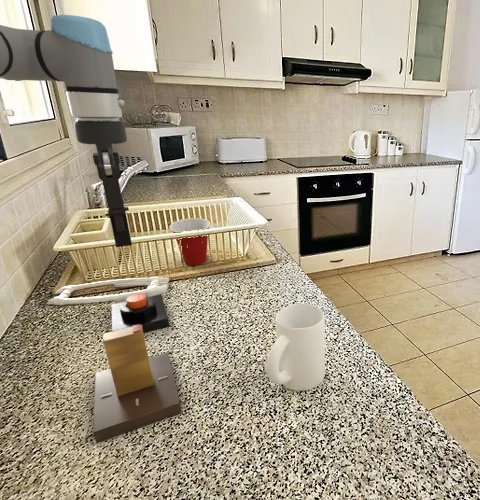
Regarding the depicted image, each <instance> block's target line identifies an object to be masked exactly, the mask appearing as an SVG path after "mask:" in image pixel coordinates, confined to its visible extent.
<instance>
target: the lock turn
mask: <svg viewBox="0 0 480 500" xmlns="http://www.w3.org/2000/svg"><path fill="white" fill-rule="evenodd" d="M102 342H103V346H104V350H105V354H106V358H107V361H108V366H109V369H110V370H111V373H112V377H113V381H114V385H115V389H116V393H117V396H121V395H124V394H127V393H131V392H134V391H137V390H140V389H143V388H146V387H150V386H153V385H154V382H153V376H152V372H151V367H150V362H149V358H150V357H149V354H148V353H149V352H148V348H147V343H146V339H145V333H143V329H142V325H140V324H138V325H134V326H133V327H130V328H125V329H121V330H117V331H113V332H112V331H109V332H104V333H103V334H102Z"/></svg>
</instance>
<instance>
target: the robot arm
mask: <svg viewBox="0 0 480 500" xmlns="http://www.w3.org/2000/svg"><path fill="white" fill-rule="evenodd" d="M50 25H51V26H50V29H48V30H45V29H43V30H41V29H40V30H39V29H38V30H37V29H26V28H25V29H24V28H23V29H22V28H15V27H10V26H8V25H7V26H6V25H2V24H0V80H6V81H15V82H22V81H36V82H45V81H46V82H63V83H64V86H65V91H66V92H65V93H66V97H67V102H68V107H69V111H70V115H71V117H73V118H76V120H75V121H74V122H73V127H74V130H75V135H76V140H77V142H78V143H80V144H83V145H95V148H96V152H93V153H92V160H93V163H94V166H96V170H97V175H98V178H99V179H100V180H101V181H102V185H103V190H104V194H105V195H104V196H105V200H106V204H107V209H108V210H107V211H105V212H104V216H105V217H109V219H110V220H109V221H110V225H111V229H112V234H113V239H114V243H115V248H121V247H130V246H133V243H132V238H131V232H130V227H129V222H128V217H127V211H130V209H129V206H124V204H125V202H124V200H123V195H122V191H121V186H120V185H121V184H120V179H121V178H122V175H121V169H120V164H121V160H120V155H119V152H117V151H115V152H114V151H113V147H112V146H113V144H114V145H118V144H125V143H127V141H128V137H127V132H126V126H125V122H123V121H122V120H120V119H121V118H122V117H123V112H122V107H120V106H125V100H123V99H119V98H120V95H119V89H118V84H117V77H116V72H115V65H114V59H113V53H114V51H113V50H112V48H111V43H110V40H109V35H108V31H107V28H106V26H105V25H104V24H103V23H102V22H101V21H99V20H96V19H94V18H91V17H86V16H81V15H74V14H73V15H71V14H56V15H55V14H54V15H52V16H51V18H50Z"/></svg>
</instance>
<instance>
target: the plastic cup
mask: <svg viewBox="0 0 480 500" xmlns="http://www.w3.org/2000/svg"><path fill="white" fill-rule="evenodd" d="M211 225H212V223H211V222H210V220H208V219H205V218H201V217H200V218H198V217H196V218H193V217H191V218H183V219H178V220H176V221H174V222H172V223H170V225H169V226H168V227H169V229H170V232H172V234H173V233H181V232H183V231H191V230H198V231H199V229H201V230H205V229H209V230H210V227H211ZM175 240H176V243H177V246H178V249H179V250H180V247H179V240H178V239H176V238H175ZM180 240H181V246H182V254H181V256H182V255H183V257H182V260H183V263H184V264H185V265H186V264H187V265H186V266H188V265H197V266H199V265H198V264H201V265H203V264H202V263H204V262H205V261H207V252H208V242H209V241H208V240H209V235H208V236H203V237H201V236H198V237H195V238H193V237H191V238H182V239H180ZM202 242H203V243H202ZM187 244H188V248H187ZM205 263H206V262H205ZM205 263H204V264H205Z"/></svg>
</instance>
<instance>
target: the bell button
mask: <svg viewBox="0 0 480 500" xmlns="http://www.w3.org/2000/svg"><path fill="white" fill-rule="evenodd" d="M126 300H127V305H128V308H129V309H136V308H141V307H143V306H145V305H147V299H146V295H144V294H135V295H132V296H130V297H128V298H127V299H126Z"/></svg>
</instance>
